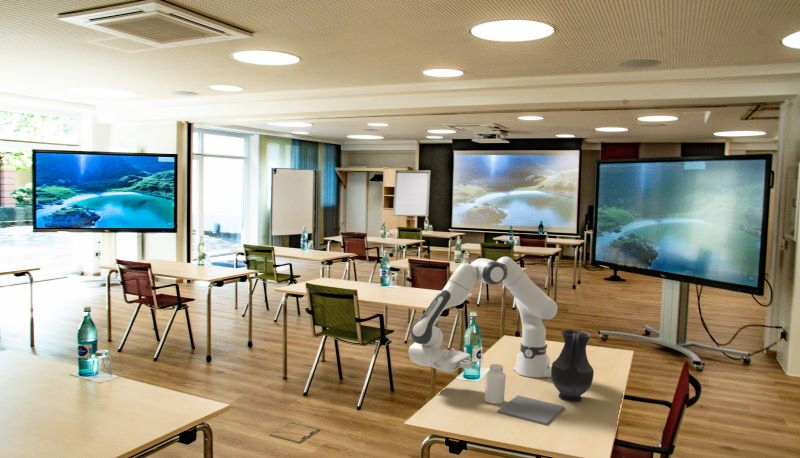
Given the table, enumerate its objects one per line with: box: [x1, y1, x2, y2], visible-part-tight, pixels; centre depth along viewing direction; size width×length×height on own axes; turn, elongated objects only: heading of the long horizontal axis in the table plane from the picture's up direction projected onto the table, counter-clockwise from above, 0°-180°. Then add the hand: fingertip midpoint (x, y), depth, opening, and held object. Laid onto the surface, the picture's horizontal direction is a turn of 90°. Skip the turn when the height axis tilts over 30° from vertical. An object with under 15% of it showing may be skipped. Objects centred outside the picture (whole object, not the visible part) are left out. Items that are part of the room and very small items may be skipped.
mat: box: [496, 395, 565, 426], centre depth 239 cm, size 22×20×1 cm
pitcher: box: [550, 329, 594, 403], centre depth 253 cm, size 17×21×30 cm
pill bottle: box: [484, 363, 506, 405], centre depth 247 cm, size 8×8×15 cm
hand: (470, 365), depth 253 cm, fingers closed
